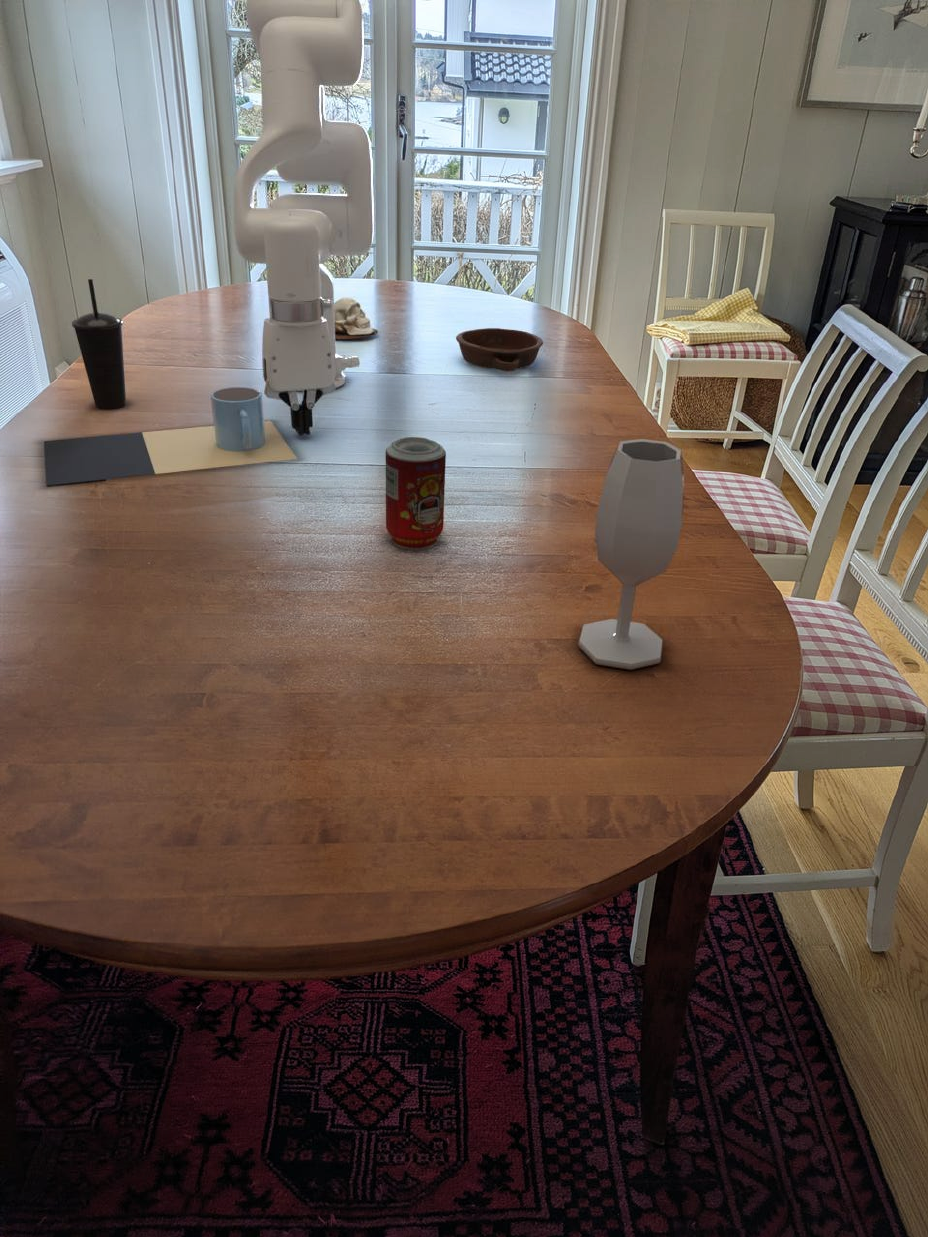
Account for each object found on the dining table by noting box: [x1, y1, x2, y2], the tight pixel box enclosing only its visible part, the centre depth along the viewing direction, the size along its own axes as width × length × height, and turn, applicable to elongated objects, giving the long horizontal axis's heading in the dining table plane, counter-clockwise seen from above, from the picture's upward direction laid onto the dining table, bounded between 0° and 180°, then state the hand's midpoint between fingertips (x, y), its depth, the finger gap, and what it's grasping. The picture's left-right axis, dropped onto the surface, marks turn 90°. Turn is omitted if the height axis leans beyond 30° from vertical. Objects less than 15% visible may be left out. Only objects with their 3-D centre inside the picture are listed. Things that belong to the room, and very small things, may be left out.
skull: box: [334, 297, 379, 340], centre depth 197 cm, size 12×10×10 cm
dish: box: [455, 327, 544, 372], centre depth 182 cm, size 18×22×5 cm
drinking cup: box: [71, 278, 127, 411], centre depth 146 cm, size 8×8×20 cm
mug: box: [210, 386, 266, 451], centre depth 135 cm, size 10×7×8 cm
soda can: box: [384, 436, 447, 551], centre depth 108 cm, size 7×7×12 cm
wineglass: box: [577, 438, 685, 671], centre depth 86 cm, size 9×9×21 cm
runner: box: [43, 420, 298, 488], centre depth 134 cm, size 34×18×1 cm, turn 113°
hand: (302, 432), depth 141 cm, fingers closed
